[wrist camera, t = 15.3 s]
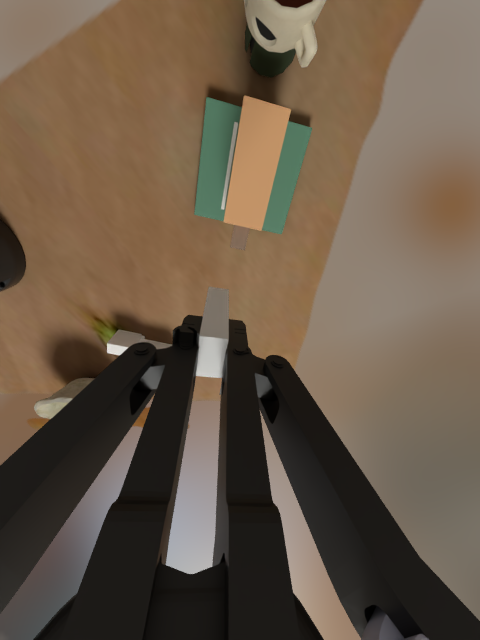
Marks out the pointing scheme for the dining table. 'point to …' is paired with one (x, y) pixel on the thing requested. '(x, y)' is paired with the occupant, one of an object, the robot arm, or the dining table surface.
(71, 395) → the bowl
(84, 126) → the dining table surface
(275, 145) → the block
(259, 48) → the character mug
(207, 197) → the board
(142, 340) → the napkin holder
